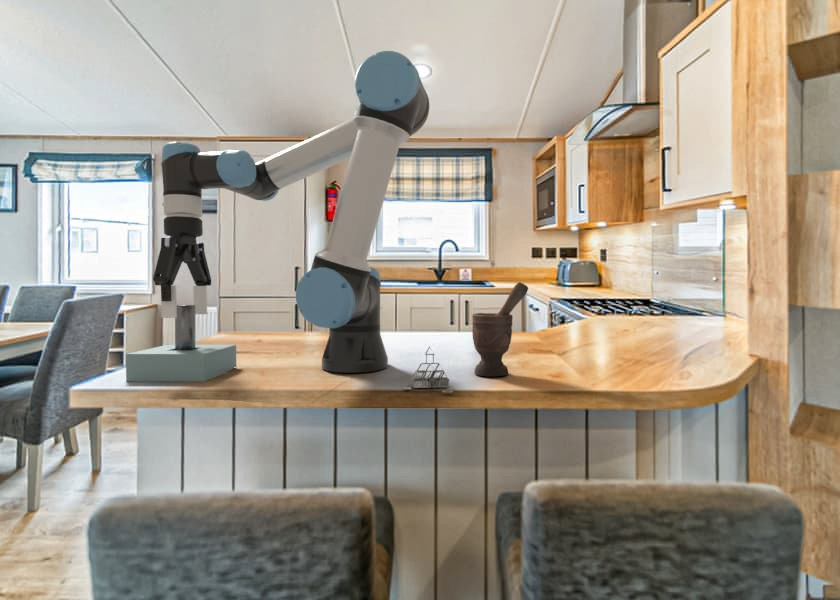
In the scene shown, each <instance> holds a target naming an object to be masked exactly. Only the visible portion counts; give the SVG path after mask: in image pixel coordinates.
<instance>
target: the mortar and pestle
mask: <svg viewBox="0 0 840 600" xmlns="http://www.w3.org/2000/svg"><path fill="white" fill-rule="evenodd" d="M528 291H529V287H528V286H527V285H526V284H525V283H523V282H521V281H519V282H517V283H516V284H515V285H514V287H513V288H512V289H511V291H510V293H509V295H508V297H507V299H506V300H505V302H504V304H503V306H502V307H501V309H500V310H499V311H498V312H497V313H496V312H493V313H492V312H489V313H488V312H477V313H473V314H472V316H471V317H472V321H471V322H472V323H471V324H472V328H471V329H472V332H471V333H472V340H473V345H474V349H475V351H476V352H477V353H478V354H479V356H480V360H479V363H477V365H476V366H475V368H474V372H473V373H474V375H477V376H480V377H489V378H490V377H491V378H493V377H502V376H509V369H508V366H506V364H504V362H503V360H502V359H503V355H504V354H506V353H507V352H508V351H509V348H510V345H511V341H512V336H513V335H512V334H513V329H512V328H513V315H512V314H511V313H512V311H513V310H514V309H515V307H516V306H517V305H518V304H519V303H520V302H521V300H523V298H524V297H525V296H526V295H527V293H528Z"/></svg>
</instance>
